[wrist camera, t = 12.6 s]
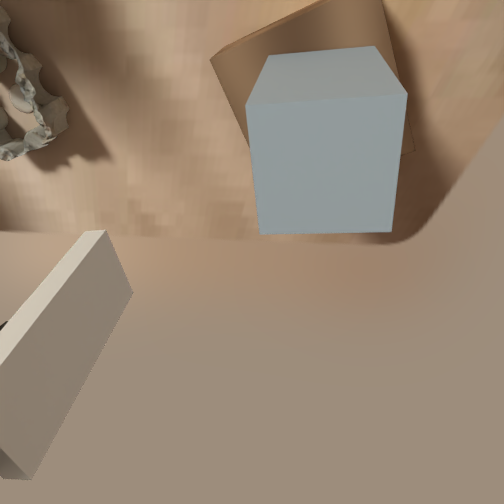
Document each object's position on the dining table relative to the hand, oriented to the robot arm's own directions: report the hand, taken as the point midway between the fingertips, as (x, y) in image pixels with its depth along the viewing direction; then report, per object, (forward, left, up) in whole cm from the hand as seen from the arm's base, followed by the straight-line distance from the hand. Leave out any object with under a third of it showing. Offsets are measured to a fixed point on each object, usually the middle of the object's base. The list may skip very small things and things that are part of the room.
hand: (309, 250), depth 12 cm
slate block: (0, 0, -16) cm, 16 cm away
